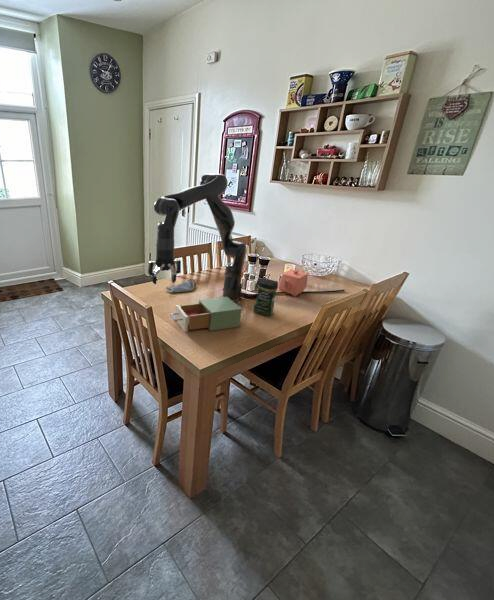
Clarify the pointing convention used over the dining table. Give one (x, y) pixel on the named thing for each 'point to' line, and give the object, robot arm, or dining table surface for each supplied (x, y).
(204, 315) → the drawer
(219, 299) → the cabinet
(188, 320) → the red rectangular block
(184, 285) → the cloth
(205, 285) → the dining table surface
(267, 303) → the coffee jar
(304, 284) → the pink knobbed cube
